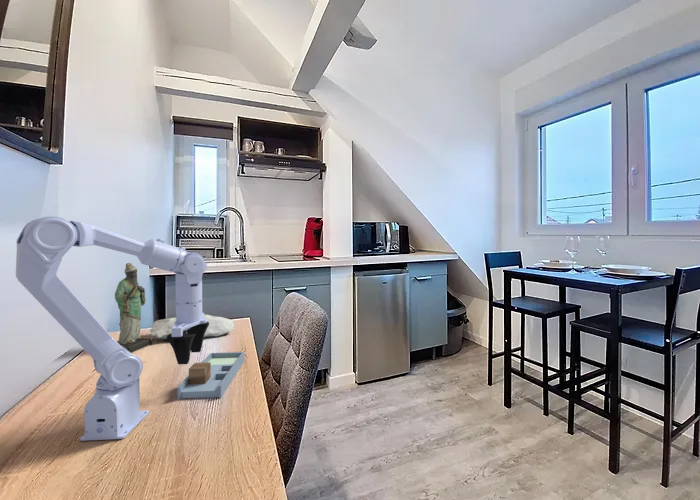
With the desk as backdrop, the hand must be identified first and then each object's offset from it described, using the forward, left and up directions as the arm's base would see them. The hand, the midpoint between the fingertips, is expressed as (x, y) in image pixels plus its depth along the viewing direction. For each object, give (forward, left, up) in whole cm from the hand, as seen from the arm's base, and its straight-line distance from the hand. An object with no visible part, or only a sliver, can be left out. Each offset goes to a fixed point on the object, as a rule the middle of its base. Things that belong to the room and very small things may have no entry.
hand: (189, 357), depth 77 cm
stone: (+53, +19, -10) cm, 57 cm away
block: (+6, 0, -8) cm, 10 cm away
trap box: (+11, -2, -10) cm, 15 cm away
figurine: (+39, +36, -10) cm, 54 cm away
